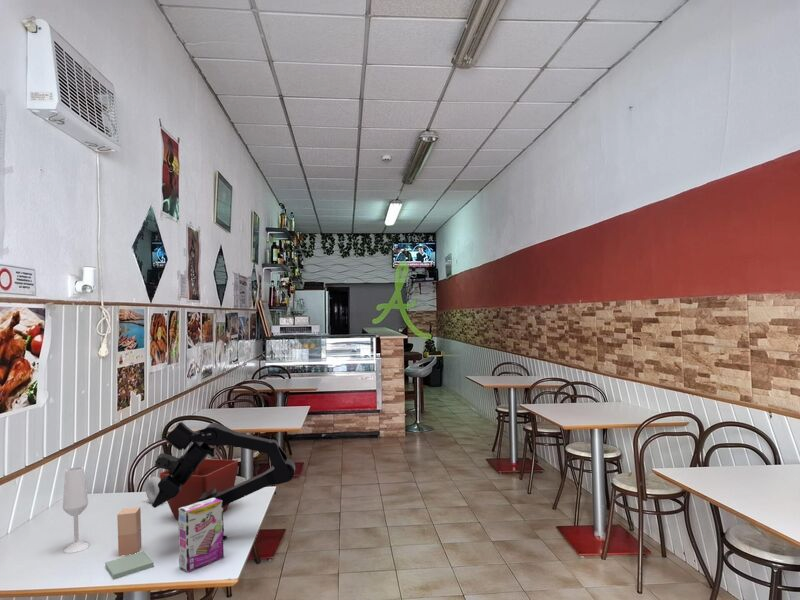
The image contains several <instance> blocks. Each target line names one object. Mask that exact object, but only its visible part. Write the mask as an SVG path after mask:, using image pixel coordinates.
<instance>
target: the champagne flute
mask: <svg viewBox="0 0 800 600" xmlns="http://www.w3.org/2000/svg"><path fill="white" fill-rule="evenodd" d="M64 472H65V473H64V486H63V499H62V509H63V511H64V512H65V513H66V514H67V515H70V516H71V517H73V540H74V541H73V542H72V543H71V544H69V546H67V547H66V548H65V549H64V550H63V552H64V553H66V554H67V553H68V554H71V553H78V552H81V551H84V550H86V549H88V548H89V546H90V543H86V542H83V541H81V540H79V539H80V538H79V536H80V533H79V516H80V515H81V514H82V513H83V512H84V510H86V509H87V506H88V505H89V498H88V491H87V482H86V475H85V470H84V466H73V467H69V468H67V469H65V471H64ZM77 551H78V552H77Z"/></svg>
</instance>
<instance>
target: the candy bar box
mask: <svg viewBox="0 0 800 600" xmlns="http://www.w3.org/2000/svg"><path fill="white" fill-rule="evenodd" d="M178 515H179V520H178V562H179V563H178V564H179V566H178V567H179V569H181V570H182V571H185V572H187V573H189V572H192V571H194V570H196V569H199V568H201V567H204V566H206V565H209V564H211V563H214V562H215V561H218V560H220V558H221V559H223V558H224V540H223V523H224V511H223V501H222V500H220V499H217V498H210V499H207V500H204V501H201V502H197V503H194V504H191V505H188V506H184V507H181V508H178Z"/></svg>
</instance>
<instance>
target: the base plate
mask: <svg viewBox="0 0 800 600" xmlns="http://www.w3.org/2000/svg"><path fill="white" fill-rule="evenodd" d="M104 564H105V569H106V570H107V572H108V573H109V575H110V577H111V578H112V579H113V580H115V579H119V578H122V577H125V576H129V575H132V574H135V573H137V572H138V573H139V572H141V571H144V570H148V569H150V568H154V567H155V566H154V561H153V560H152V559H151V557H150V556H149V555H148V554H147V553H146V552H145V551H139V552H138V553H136V554H132V555H125V556H121V557H119V558H115V559H113V560H109V561H106V562H104Z"/></svg>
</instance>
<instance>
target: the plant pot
mask: <svg viewBox="0 0 800 600" xmlns="http://www.w3.org/2000/svg"><path fill="white" fill-rule="evenodd" d="M238 464H239V461H238V460H237V459H218V458H217V459H214V458H205V459H204V460H203V461H202V463H201V464H200V465H199V466H198V467H197V469H196V470H195V471H194V472H193V474H192V476H191V477H190V478H189V480H188V481H187V482H186V483H185V484H184V485H182V489H181V490H180V491H179V493H178V494H177V495H176V496H175V497H174V498H171V499H170V500H168V501H166V502H167V504H168V506H169V508H170V511H171V514H172V515H173V517H174V519H175V520H176V521H179V515H178V508H181V507H184V506H188V505H191V504H194V503H196V502H197V501H198V499H199V498H200V497H201V496H202V494H203V493H205V492H209V491H211V490H212V489H214V488H216V492H221V491H224V490H227V489H229V488H231V487H233V486H235V483H236V480H237V479H236V478H237V473H238V472H237V471H238V466H239V465H238ZM168 472H169V470H166V469H165V470H164V471H162V472H160V473H159V478H160V479H161V480H162V479H163V477H164V476H168V475H169V473H168ZM229 505H230V503H229V504H227V505H225V506H224V507H223V508H224V510H223V512H225V511H227V510H228V509H229Z"/></svg>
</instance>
